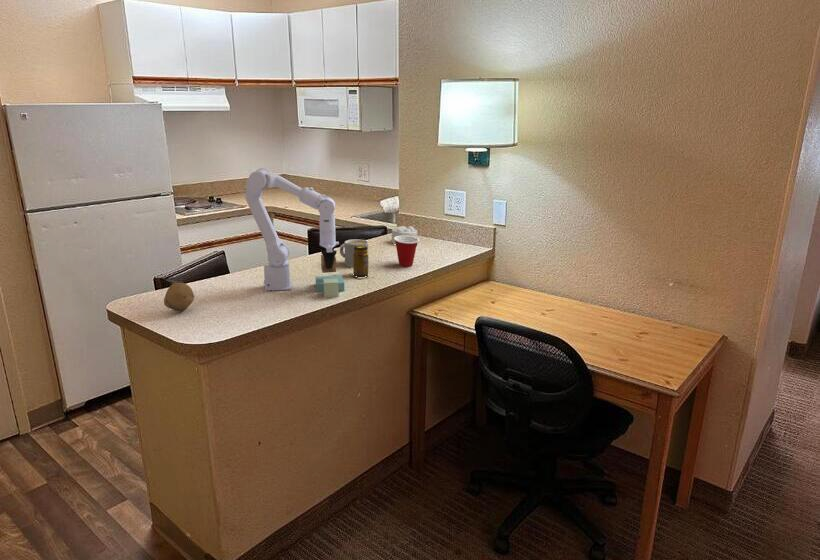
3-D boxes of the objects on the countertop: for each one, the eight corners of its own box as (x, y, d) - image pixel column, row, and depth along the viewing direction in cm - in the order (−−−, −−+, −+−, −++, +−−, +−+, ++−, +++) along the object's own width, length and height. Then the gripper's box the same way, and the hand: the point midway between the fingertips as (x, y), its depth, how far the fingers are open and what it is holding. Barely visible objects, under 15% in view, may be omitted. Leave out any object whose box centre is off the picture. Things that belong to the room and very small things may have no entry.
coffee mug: (372, 264, 248) (372, 242, 246) (356, 269, 241) (355, 246, 238) (351, 258, 257) (351, 236, 254) (334, 263, 250) (334, 240, 247)
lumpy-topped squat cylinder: (404, 240, 292) (404, 223, 289) (422, 245, 283) (422, 228, 280) (388, 243, 285) (388, 226, 282) (407, 248, 276) (407, 231, 273)
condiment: (365, 271, 238) (365, 243, 234) (374, 277, 231) (374, 248, 227) (349, 274, 234) (348, 245, 231) (357, 279, 227) (357, 250, 224)
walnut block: (322, 272, 213) (322, 258, 211) (321, 269, 217) (320, 255, 216) (336, 272, 214) (335, 257, 212) (334, 268, 219) (334, 254, 217)
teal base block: (317, 293, 212) (317, 284, 211) (315, 285, 221) (315, 276, 220) (344, 291, 214) (344, 282, 213) (341, 283, 223) (341, 275, 222)
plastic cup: (408, 270, 241) (409, 242, 237) (388, 265, 247) (388, 238, 243) (423, 264, 249) (424, 237, 246) (404, 260, 255) (404, 234, 252)
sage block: (324, 297, 206) (324, 283, 205) (323, 293, 211) (323, 278, 209) (338, 296, 207) (338, 282, 206) (337, 292, 212) (337, 278, 210)
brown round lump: (201, 311, 191) (198, 283, 188) (175, 318, 185) (172, 289, 182) (187, 305, 197) (184, 277, 194) (162, 311, 190) (158, 283, 187)
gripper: (340, 234, 205) (341, 271, 209) (336, 226, 219) (337, 260, 223) (320, 235, 204) (321, 272, 208) (317, 227, 217) (319, 261, 221)
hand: (328, 266), depth 215 cm, fingers closed on walnut block, 5 cm apart
